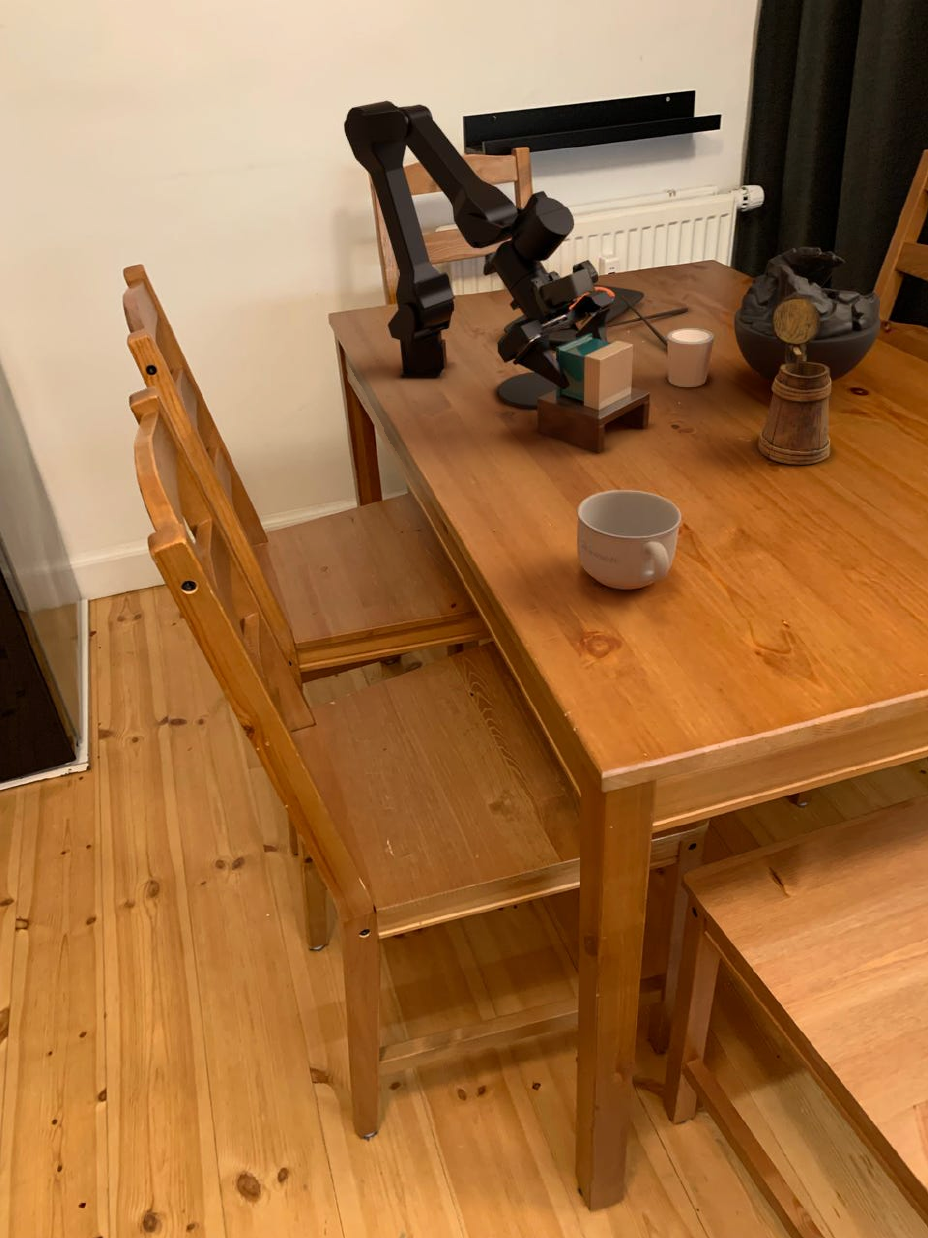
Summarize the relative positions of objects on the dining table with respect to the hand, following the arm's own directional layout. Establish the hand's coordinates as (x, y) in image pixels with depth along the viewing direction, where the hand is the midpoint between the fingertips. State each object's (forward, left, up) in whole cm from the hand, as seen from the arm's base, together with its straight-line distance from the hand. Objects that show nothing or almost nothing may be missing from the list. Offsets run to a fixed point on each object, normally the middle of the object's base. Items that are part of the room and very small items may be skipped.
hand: (589, 376), depth 131 cm
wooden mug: (+27, -4, -8) cm, 28 cm away
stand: (+1, 0, -7) cm, 7 cm away
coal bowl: (+30, +16, -8) cm, 35 cm away
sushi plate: (+2, +40, -8) cm, 41 cm away
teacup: (+7, -39, -8) cm, 40 cm away
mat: (-8, +12, -7) cm, 17 cm away
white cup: (+14, +17, -8) cm, 23 cm away
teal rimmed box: (+1, -1, -2) cm, 3 cm away
